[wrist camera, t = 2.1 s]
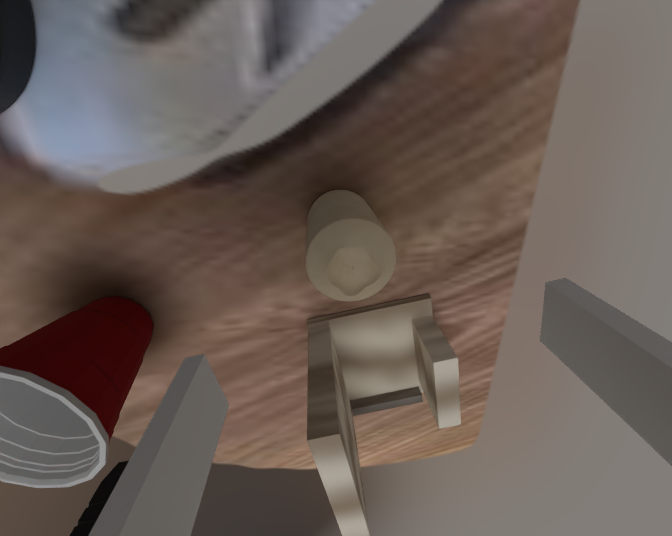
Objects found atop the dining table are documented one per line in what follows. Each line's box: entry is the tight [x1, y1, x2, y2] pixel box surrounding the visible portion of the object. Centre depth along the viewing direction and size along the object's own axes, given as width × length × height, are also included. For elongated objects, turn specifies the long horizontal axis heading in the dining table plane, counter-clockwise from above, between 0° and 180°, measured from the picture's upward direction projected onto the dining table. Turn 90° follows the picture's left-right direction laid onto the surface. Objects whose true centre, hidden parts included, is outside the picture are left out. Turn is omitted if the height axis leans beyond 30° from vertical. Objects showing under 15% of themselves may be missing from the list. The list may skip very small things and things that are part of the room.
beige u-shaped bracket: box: [307, 294, 461, 536], centre depth 27 cm, size 12×12×13 cm
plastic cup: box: [0, 296, 153, 488], centre depth 24 cm, size 11×11×12 cm
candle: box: [306, 190, 396, 301], centre depth 22 cm, size 6×6×10 cm
